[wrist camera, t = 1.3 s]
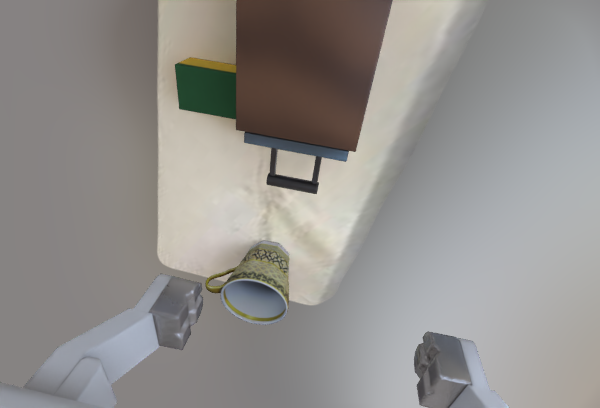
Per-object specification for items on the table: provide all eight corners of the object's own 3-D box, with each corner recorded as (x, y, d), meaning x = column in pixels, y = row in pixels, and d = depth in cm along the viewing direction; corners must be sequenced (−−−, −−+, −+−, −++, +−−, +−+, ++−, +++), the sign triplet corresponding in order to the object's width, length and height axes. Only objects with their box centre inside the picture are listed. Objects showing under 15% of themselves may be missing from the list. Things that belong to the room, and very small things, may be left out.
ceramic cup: (302, 238, 51) (290, 287, 43) (296, 280, 57) (285, 330, 49) (223, 223, 52) (197, 268, 44) (225, 266, 58) (202, 313, 50)
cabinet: (357, 119, 39) (355, 152, 32) (259, 101, 40) (235, 130, 32) (392, -30, 30) (400, -32, 23) (266, -48, 31) (236, -55, 24)
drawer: (340, 174, 43) (336, 206, 37) (259, 159, 43) (243, 187, 38) (378, 5, 31) (381, 11, 26) (268, -12, 32) (246, -10, 26)
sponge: (189, 57, 38) (174, 64, 35) (250, 67, 38) (240, 75, 35) (193, 99, 41) (179, 109, 38) (249, 109, 41) (240, 120, 38)
